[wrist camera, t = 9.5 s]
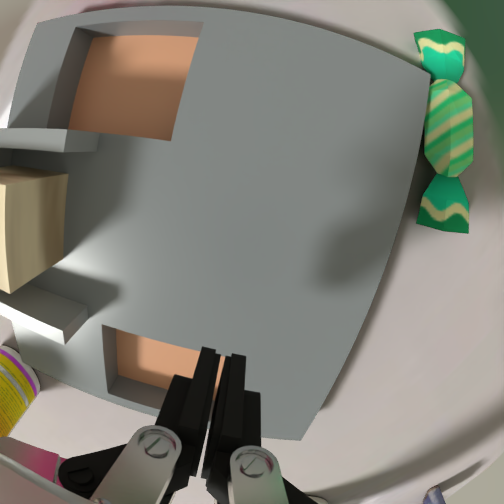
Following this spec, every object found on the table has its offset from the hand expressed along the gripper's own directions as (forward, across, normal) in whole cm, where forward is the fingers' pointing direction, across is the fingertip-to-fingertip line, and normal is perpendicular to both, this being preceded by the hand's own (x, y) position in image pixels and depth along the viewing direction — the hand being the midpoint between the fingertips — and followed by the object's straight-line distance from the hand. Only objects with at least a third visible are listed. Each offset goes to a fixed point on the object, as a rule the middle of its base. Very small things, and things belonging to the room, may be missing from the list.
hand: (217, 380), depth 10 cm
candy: (+8, -10, -14) cm, 19 cm away
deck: (+8, +5, -3) cm, 9 cm away
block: (+5, +13, -3) cm, 14 cm away
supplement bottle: (+8, +20, +15) cm, 27 cm away
